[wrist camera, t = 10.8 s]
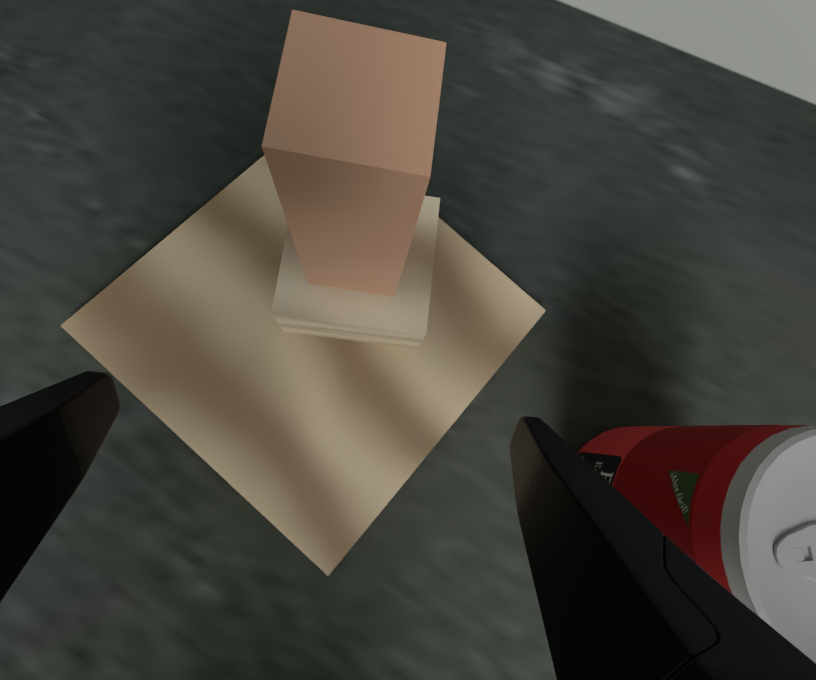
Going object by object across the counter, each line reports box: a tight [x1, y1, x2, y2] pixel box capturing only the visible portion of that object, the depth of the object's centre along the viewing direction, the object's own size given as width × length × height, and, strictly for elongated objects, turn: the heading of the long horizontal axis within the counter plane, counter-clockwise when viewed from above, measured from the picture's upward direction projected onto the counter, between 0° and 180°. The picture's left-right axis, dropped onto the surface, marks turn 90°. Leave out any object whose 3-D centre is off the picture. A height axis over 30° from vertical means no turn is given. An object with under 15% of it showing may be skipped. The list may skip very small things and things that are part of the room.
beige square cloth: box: [61, 155, 546, 576], centre depth 23 cm, size 18×18×1 cm
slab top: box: [271, 196, 440, 342], centre depth 20 cm, size 7×7×2 cm
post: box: [262, 10, 446, 297], centre depth 15 cm, size 4×4×10 cm
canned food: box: [577, 425, 816, 663], centre depth 18 cm, size 8×8×11 cm
